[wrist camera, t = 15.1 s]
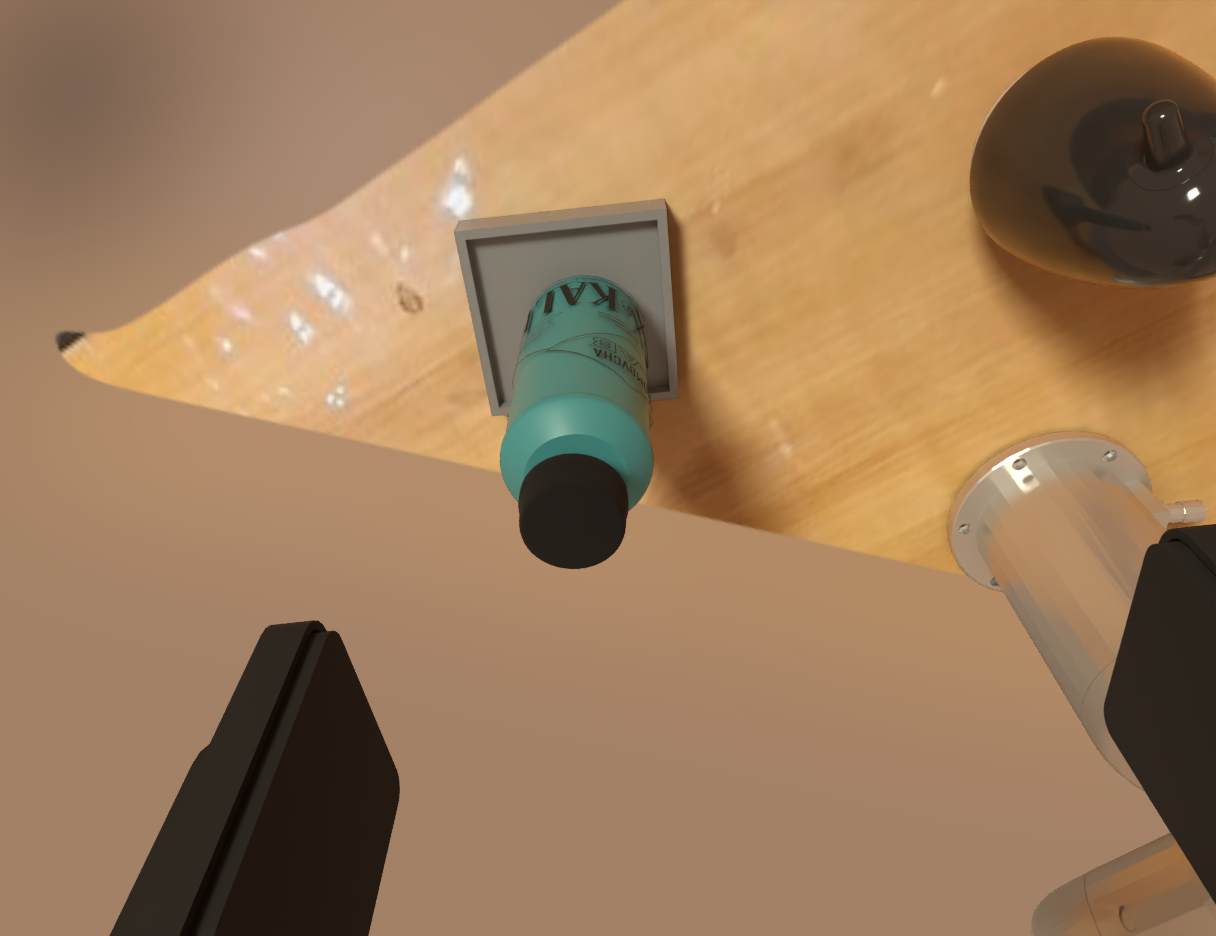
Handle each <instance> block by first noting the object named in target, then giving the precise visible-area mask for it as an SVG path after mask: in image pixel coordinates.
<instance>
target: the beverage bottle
mask: <svg viewBox="0 0 1216 936" xmlns="http://www.w3.org/2000/svg"><path fill="white" fill-rule="evenodd" d="M555 283H556V282H555ZM553 284H554V283H553ZM551 285H552V284H551ZM617 285H618V284H617ZM617 285H616V283H615V284H614V282H613V283H612V281H611V282H610V280H609V281H608V280H607V279H605V278H601V277H597V276H589V275H580V276H572V277H570V278H569V277H568V278H567V279H565V278H564V280H563V279H561V281H560V280H559V282H557V283H556V284H554V285H552V286H551V287H549V286H548V287H549V288H548V289H547V290H546V291H544V292H543V293H542V294H541V296H540V297H538V299H536V298H537V297H536V298H535V299H536V300H537V301H535V304H534V306H533V305H532V304H531V305H532V306H533V307H532V306H531V307H532V309H531V310H530V312H528V313H529V314H528V319H527V318H526V319H527V323H526V327H525V326H524V328H523V329H525V332H524V333H523V335H525V338H524V342H523V344H522V342H520V343H521V344H522V345H523V347H522V350H521V353H520V351H519V354H520V355H521V356H520V360H519V363H518V364H519V365H518V369H517V374H516V380H515V389H514V388H513V389H514V394H513V398H512V403H511V408H510V413H509V418H508V423H507V428H506V433H505V435H504V438H503V441H502V445H501V451H500V468H501V473H502V476H503V479H504V482H505V484H506V486H507V488H508V490H509V491H510V492H511V494H512V496H513V497H514V498H515V499H516V501H517V502H518V504H519V505H518V506H519V514H520V517H519V518H520V519H519V527H520V533H521V536H522V539H523V541H524V543H525V545H526V546H527V548H528V549H529V550H530V551H531V553H533V554H534V555H535V556H536V557H537V558H539V559H540V560H542V561H544V562H546V563H548V564H550V565H553V566H556V567H560V568H568V569H580V568H587V567H591V566H594V565H597V564H599V563H601V562H603V561H604V560H606V559H608V558H609V557H610V556H611V555H612V554H614V552H615V551H616V550H617V549H618V547H619V546H620V544H621V542H622V540H623V537H624V534H625V528H626V518H627V515H628V511H629V510H631V509H632V508H633V507H634V506H635V505H636V504H637V503H638V502H639V500H640V499H641V498H642V496H643V495H644V493H645V492H646V490H647V488H648V485H649V483H650V480H651V477H652V472H653V450H652V445H651V442H650V427H651V426H649V425H650V424H649V422H650V419H651V417H650V414H649V404H650V403H649V401H648V397H649V398H650V395H648V392H649V390H648V389H647V388H648V386H647V384H649V383H650V382H648V381H649V380H648V379H649V378H648V377H647V375H648V374H647V375H646V372H647V373H648V353H647V352H646V351H645V352H646V353H645V352H644V350H645V348H644V344H645V346H646V342H647V338H646V337H645V336H644V331H643V328H644V327H645V326H644V325H643V326H642V321H641V317H640V313H639V311H640V310H639V311H638V309H639V308H638V307H636V306H637V305H638V304H637V305H636V304H634V301H633V300H632V299H631V298H630V297H629V295H628V294H627V293H626V292H627V291H626V290H625V289H624V288H623V289H624V290H625V291H626V292H625V291H623V290H622V289H621V288H622V287H621V286H620V287H621V288H620V287H619V286H617ZM545 289H546V288H545ZM545 289H544V290H545ZM631 297H632V296H631ZM632 298H633V297H632ZM633 299H634V298H633ZM533 302H534V301H533ZM637 308H638V309H637ZM528 311H529V310H528ZM641 315H643V314H641ZM642 317H643V316H642ZM643 318H644V317H643ZM643 321H644V320H643ZM644 322H645V321H644ZM644 324H645V323H644ZM524 325H525V324H524ZM523 331H524V330H523ZM643 337H644V340H643ZM645 338H646V341H645ZM522 339H523V338H522ZM644 341H645V342H644ZM519 346H520V345H519ZM520 348H521V347H520ZM520 348H519V349H520ZM646 349H647V347H646ZM646 354H647V361H646V357H645V355H646ZM518 357H519V356H518ZM517 362H518V360H517ZM645 362H646V364H645ZM646 366H647V371H646ZM516 367H517V365H516ZM515 370H516V369H515ZM514 375H515V373H514ZM512 377H513V376H512ZM647 378H648V379H647ZM513 379H514V378H513ZM512 386H513V383H512ZM649 389H650V386H649ZM651 396H652V395H651ZM650 402H651V399H650ZM651 408H652V407H651ZM652 411H653V410H651V412H652ZM652 422H653V421H652ZM651 425H652V424H651Z"/></svg>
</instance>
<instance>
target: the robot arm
mask: <svg viewBox="0 0 1216 936" xmlns="http://www.w3.org/2000/svg"><path fill="white" fill-rule="evenodd" d="M1206 514H1207V511H1206V506H1205V505H1204V503H1203V502H1202V501H1200V500H1190V501H1179V502H1175V503H1168V504H1165V503H1164V502H1163V501H1161V500H1158V499H1157V498H1156V497H1155V496H1154V495H1153V493H1152V486H1151V479H1150V477H1149V475H1148V473H1147V471H1146V468H1145V466H1144V465H1143V464H1142V463H1141V462H1140V461H1139V459H1138V458H1137V457H1136V456H1135V455H1134V454H1133V453H1132V452H1131V451H1130V450H1128V449H1127V448H1126V447H1125V446H1124V445H1123V444H1121V443H1119V442H1117V441H1115V440H1113V439H1111V438H1109V437H1107V436H1103V435H1099V434H1095V433H1091V432H1078V431H1068V432H1057V433H1050V434H1046V435H1042V436H1038V437H1034V438H1031V439H1028V440H1026V441H1023V442H1021V443H1018V444H1016V445H1013V446H1012V447H1010V448H1008V449H1006V450H1005V451H1003V452H1001V453H999V454H998V455H996V456H994V457H993V458H992V459H991V460H989V461H988V462H987V463H985V464H984V465H983V466H982V467H980V468H979V469H978V470H977V471H976V472H975V473H974V474H973V475H972V476H971V478H970V479H969V480H968V481H967V482H966V483H965V485H964V486H963V488H962V489H961V491H960V492H959V493H958V495H957V496H956V499H955V501H954V503H953V506H952V508H951V510H950V514H949V519H948V524H947V533H948V542H949V545H950V548H951V551H952V554H953V555H954V557H955V559H956V561H957V562H958V564H959V566H960V567H961V568H962V569H963V571H964V572H965V573H966V574H967V575H968V576H969V577H970V578H972V579H973V580H975V581H976V582H977V583H979V584H981V585H983V586H985V587H987V588H989V589H992V590H996V591H1001V592H1004V594H1005V596H1006V597H1007V599H1008V601H1009V602H1010V604H1011V606H1012V607H1013V609H1014V611H1015V612H1016V614H1017V616H1018V617H1019V619H1020V621H1021V622H1022V624H1023V626H1024V627H1025V629H1026V631H1027V632H1028V634H1029V636H1030V638H1031V639H1032V641H1033V642H1034V644H1035V646H1036V647H1037V649H1038V651H1039V653H1040V654H1041V656H1042V658H1043V659H1044V661H1045V663H1046V664H1047V666H1048V667H1049V669H1050V671H1051V673H1052V674H1053V676H1054V678H1055V679H1056V681H1057V683H1058V684H1059V686H1060V688H1061V689H1062V691H1063V693H1064V694H1065V696H1066V698H1067V699H1068V701H1069V703H1070V704H1071V706H1072V708H1073V709H1074V711H1075V713H1076V714H1077V716H1078V718H1079V719H1080V721H1081V723H1082V724H1083V726H1084V728H1085V729H1086V731H1087V733H1088V735H1089V736H1090V738H1091V740H1092V741H1093V743H1094V744H1095V746H1096V748H1097V749H1098V750H1099V752H1100V753H1101V755H1102V756H1103V757H1104V758H1105V760H1106V761H1107V762H1108V763H1109V764H1110V765H1111V766H1112V767H1113V768H1114V769H1115V770H1116V771H1117V772H1118V773H1119V774H1120V775H1122V776H1123V777H1124V778H1125V779H1127V780H1128V781H1129V782H1130V783H1132V784H1133V785H1135V786H1136V787H1138V788H1140V789H1141V790H1143V791H1145V792H1146V794H1147V795H1148V797H1149V799H1150V800H1151V802H1152V803H1153V805H1154V806H1155V808H1156V810H1157V811H1158V813H1159V815H1160V816H1161V818H1162V819H1163V821H1164V823H1165V824H1166V826H1167V827H1168V829H1169V831H1170V832H1171V833H1169V834H1167V835H1165V836H1163V837H1160V838H1158V839H1156V840H1154V841H1152V842H1150V843H1148V844H1146V845H1144V846H1142V847H1139V848H1137V849H1135V850H1133V851H1131V852H1129V853H1127V854H1125V855H1123V856H1121V857H1118V858H1116V859H1114V860H1112V861H1110V862H1108V863H1106V864H1104V865H1102V866H1099V867H1097V868H1095V869H1093V870H1091V871H1089V872H1088V873H1086V874H1084V875H1082V876H1080V877H1078V878H1076V879H1074V880H1072V881H1070V882H1068V883H1066V884H1064V885H1063V886H1061V887H1059V888H1057V889H1056V890H1054V891H1053V892H1052V893H1050V894H1049V895H1048V896H1047V897H1046V898H1045V899H1044V900H1042V901H1041V903H1040V904H1039V905H1038V907H1037V908H1036V910H1035V912H1034V914H1033V917H1032V920H1031V926H1030V936H1216V524H1212V525H1202V526H1193V527H1184V528H1174V529H1170V530H1167V525H1168V523H1191V522H1201V521H1204V520H1205V518H1206ZM399 793H400V786H399V776H398V773H397V769H396V767H395V765H394V762H393V760H392V757H391V755H390V753H389V750H388V748H387V746H386V743H385V741H384V738H383V736H382V734H381V731H380V729H379V727H378V724H377V722H376V720H375V717H374V715H373V712H372V710H371V708H370V705H369V703H368V701H367V698H366V696H365V693H364V691H363V689H362V686H361V684H360V681H359V679H358V677H357V674H356V672H355V670H354V668H353V665H352V663H351V660H350V658H349V656H348V653H347V651H346V648H345V646H344V644H343V641H342V639H341V637H340V635H339V634H338V633H337V632H336V631H326V629H325V627H324V626H323V624H322V623H320V622H319V621H305V622H296V623H287V624H277V625H270V626H269V627H267V628H265V630H264V632H263V633H262V635H261V636H260V639H259V641H258V643H257V645H256V647H255V649H254V652H253V654H252V656H251V658H250V660H249V662H248V664H247V666H246V668H245V670H244V672H243V675H242V677H241V679H240V681H239V683H238V685H237V687H236V690H235V692H234V694H233V696H232V698H231V700H230V702H229V704H228V706H227V708H226V711H225V713H224V715H223V717H222V719H221V721H220V723H219V726H218V728H217V730H216V732H215V734H214V736H213V738H212V740H211V742H210V744H209V745H208V746H207V747H205V748H204V749H203V750H202V751H201V752H200V753H199V754H198V756H197V758H196V759H195V761H194V762H193V764H192V766H191V768H190V770H189V772H188V774H187V776H186V778H185V780H184V782H183V784H182V787H181V789H180V791H179V793H178V795H177V797H176V799H175V801H174V803H173V805H172V807H171V809H170V811H169V813H168V816H167V818H166V820H165V822H164V824H163V826H162V828H161V830H160V832H159V834H158V836H157V838H156V841H155V843H154V845H153V847H152V849H151V851H150V853H149V855H148V857H147V859H146V861H145V863H144V866H143V868H142V869H141V872H140V874H139V876H138V878H137V880H136V882H135V884H134V886H133V888H132V890H131V892H130V894H129V897H128V899H127V901H126V903H125V905H124V907H123V909H122V911H121V913H120V915H119V917H118V919H117V921H116V924H115V926H114V928H113V930H112V932H111V934H110V936H368V934H369V930H370V925H371V921H372V917H373V913H374V908H375V904H376V899H377V895H378V891H379V886H380V882H381V877H382V873H383V869H384V864H385V860H386V855H387V851H388V847H389V842H390V837H391V833H392V829H393V824H394V820H395V815H396V811H397V807H398V801H399Z"/></svg>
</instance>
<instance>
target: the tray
mask: <svg viewBox="0 0 1216 936" xmlns="http://www.w3.org/2000/svg"><path fill="white" fill-rule="evenodd" d="M454 235H455V240H456V244H457V249H458V254H459V259H460V264H461V269H462V274H463V278H464V283H465V288H466V293H467V298H468V303H469V307H470V312H471V317H472V322H473V327H474V332H475V336H476V341H477V346H478V351H479V356H480V361H481V366H482V370H483V375H484V380H485V385H486V390H487V395H488V399H489V404H490V409H491V414H492V416H499V415H509V413H510V408H511V403H512V398H513V394H514V389H515V380H516V374H517V369H518V365H519V364H518V363H519V360H520V356H521V355H520V354H519V351H520V353H521V350H522V347H523V345H522V344H523V342H524V338H525V335H523V333H524V332H525V329H523V328H524V326H525V327H526V323H527V319H528V314H529V313H528V312H530V310H531V309H532V307H533V306H534V304H535V301H537V300H536V299H538V297H540V296H541V294H542V293H543V292H544V291H546V290H547V289H548V288H549V287H551V286H552V285H554V284H556V283H557V282H559V280H560V281H561V279H563V280H564V278H565V279H567V278H568V277H569V278H570V277H572V276H580V275H589V276H597V277H601V278H605V279H607V280H608V281H609V280H610V282H611V281H612V283H613V282H614V284H615V283H616V285H617V284H618V285H617V286H619V287H620V286H621V287H622V288H621V287H620V288H621V289H622V290H623V291H625V290H626V291H627V292H626V291H625V292H626V293H627V294H628V295H629V297H630V298H631V299H632V300H633V301H634V304H636V305H637V304H638V305H637V306H636V307H638V308H639V309H638V308H637V309H638V311H639V310H640V311H639V313H640V317H641V321H642V326H643V325H644V326H645V327H644V328H643V331H644V336H645V337H646V338H647V342H646V346H645V344H644V348H645V350H644V352H645V351H646V352H647V353H648V373H647V372H646V375H647V374H648V375H647V377H648V378H649V379H648V378H647V379H648V380H649V381H648V382H650V383H649V384H647V386H648V388H647V389H648V390H649V392H648V395H650V398H649V397H648V401H650V399H651V401H657V400H667V399H678V398H679V389H678V374H677V359H676V344H675V329H674V314H673V299H672V284H671V270H670V255H669V240H668V225H667V210H666V205H665V200H664V199H659V200H650V201H641V202H632V203H622V204H613V205H604V206H594V207H585V208H576V209H567V210H557V211H548V212H539V213H529V214H520V215H511V216H502V217H492V218H483V219H474V220H464V221H459V222H458V224H457V226H456V228H455V230H454ZM555 282H556V283H555ZM553 283H554V284H553ZM551 284H552V285H551ZM548 286H549V287H548ZM545 288H546V289H545ZM623 288H624V289H625V290H624V289H623ZM544 289H545V290H544ZM631 296H632V297H633V298H634V299H633V298H632V297H631ZM536 297H537V298H536ZM535 298H536V299H535ZM533 301H534V302H533ZM531 304H532V305H533V306H532V305H531ZM531 306H532V307H531ZM528 310H529V311H528ZM641 314H643V315H641ZM642 316H643V317H644V318H643V317H642ZM526 318H527V319H526ZM643 320H644V321H645V322H644V321H643ZM644 323H645V324H644ZM524 324H525V325H524ZM523 330H524V331H523ZM522 338H523V339H522ZM646 338H645V341H646ZM643 340H644V337H643ZM645 341H644V342H645ZM520 342H522V344H521V343H520ZM519 345H520V346H519ZM520 347H521V348H520ZM646 347H647V349H646ZM519 348H520V349H519ZM646 352H645V353H646ZM518 356H519V357H518ZM645 357H646V361H647V354H646V355H645ZM517 360H518V362H517ZM645 364H646V362H645ZM516 365H517V367H516ZM515 369H516V370H515ZM646 371H647V366H646ZM514 373H515V375H514ZM512 376H513V377H512ZM513 378H514V379H513ZM512 383H513V386H512ZM649 386H650V389H649ZM513 388H514V389H513ZM651 395H652V396H651Z"/></svg>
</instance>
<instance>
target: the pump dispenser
mask: <svg viewBox="0 0 1216 936" xmlns="http://www.w3.org/2000/svg"><path fill="white" fill-rule="evenodd" d="M970 193H971V200H972V204H973V208H974V211H975V214H976V216H977V219H978V221H979V223H980V224H981V226H982V228H983V229H984V231H985V232H986V233H987V234H988V236H989V237H990V238H991V239H992V240H993V241H994V242H995V243H996V244H997V245H999V246H1000V247H1001V248H1002V249H1004V250H1005V251H1006V252H1008V253H1009V254H1011V255H1013V256H1014V257H1016V258H1018V259H1019V260H1021V261H1023V262H1025V263H1028V264H1030V265H1032V266H1034V267H1037V268H1039V269H1042V270H1044V271H1047V272H1049V273H1052V274H1055V275H1058V276H1061V277H1064V278H1067V279H1071V280H1074V281H1078V282H1082V283H1087V284H1092V285H1098V286H1104V287H1111V288H1120V289H1133V290H1158V289H1170V288H1177V287H1183V286H1188V285H1192V284H1196V283H1199V282H1203V281H1206V280H1209V279H1212V278H1214V277H1216V79H1215V78H1214V77H1212V76H1211V75H1210V74H1208V73H1207V72H1206V71H1204V70H1203V69H1202V68H1200V67H1199V66H1197V65H1195V64H1194V63H1192V62H1191V61H1189V60H1187V59H1186V58H1184V57H1182V56H1181V55H1179V54H1177V53H1175V52H1173V51H1171V50H1169V49H1167V48H1165V47H1163V46H1160V45H1157V44H1154V43H1151V42H1148V41H1144V40H1140V39H1134V38H1127V37H1104V38H1097V39H1092V40H1087V41H1084V42H1080V43H1077V44H1074V45H1071V46H1069V47H1067V48H1064V49H1062V50H1060V51H1058V52H1056V53H1054V54H1052V55H1051V56H1049V57H1047V58H1045V59H1044V60H1042V61H1041V62H1039V63H1038V64H1037V65H1035V66H1034V67H1032V68H1031V69H1029V70H1028V71H1026V72H1025V73H1024V74H1022V75H1021V76H1020V77H1019V78H1018V79H1016V80H1015V81H1014V82H1013V83H1012V84H1011V85H1010V86H1009V87H1008V88H1007V89H1006V90H1005V91H1004V92H1003V93H1002V94H1001V96H1000V97H999V98H998V99H997V101H996V102H995V103H994V105H993V106H992V107H991V109H990V111H989V112H988V114H987V115H986V117H985V119H984V121H983V123H982V125H981V127H980V130H979V132H978V135H977V138H976V141H975V144H974V148H973V153H972V159H971V170H970Z"/></svg>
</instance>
